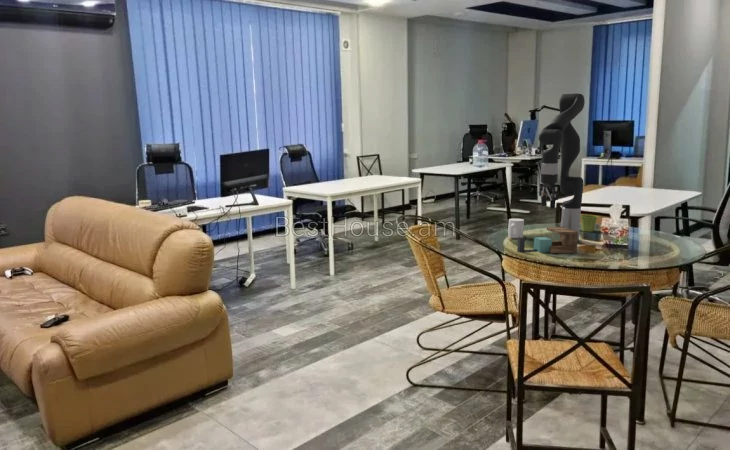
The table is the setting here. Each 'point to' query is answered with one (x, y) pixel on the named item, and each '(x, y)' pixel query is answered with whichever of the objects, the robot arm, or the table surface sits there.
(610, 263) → the table surface
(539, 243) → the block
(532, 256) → the table surface
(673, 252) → the table surface
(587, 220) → the plant pot
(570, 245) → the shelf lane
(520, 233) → the mug
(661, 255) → the table surface
